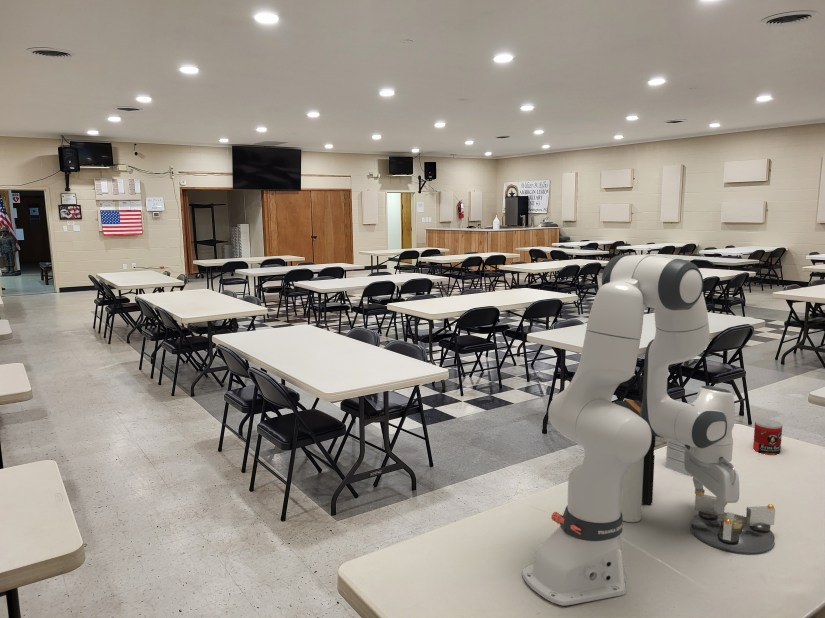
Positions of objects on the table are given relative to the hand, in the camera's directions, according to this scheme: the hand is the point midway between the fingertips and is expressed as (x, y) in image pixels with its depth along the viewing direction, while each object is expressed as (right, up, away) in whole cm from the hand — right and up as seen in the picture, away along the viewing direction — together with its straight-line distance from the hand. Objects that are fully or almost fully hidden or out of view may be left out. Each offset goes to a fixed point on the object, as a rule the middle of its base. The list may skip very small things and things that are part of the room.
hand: (708, 503), depth 155 cm
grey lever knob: (+9, -4, -6) cm, 12 cm away
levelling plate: (+3, -6, -5) cm, 8 cm away
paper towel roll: (-18, -5, +4) cm, 19 cm away
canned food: (+40, +1, +45) cm, 60 cm away
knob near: (-1, -5, -11) cm, 12 cm away
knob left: (0, -3, 0) cm, 3 cm away
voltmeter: (-13, -3, +18) cm, 23 cm away
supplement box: (+9, -1, +33) cm, 35 cm away
